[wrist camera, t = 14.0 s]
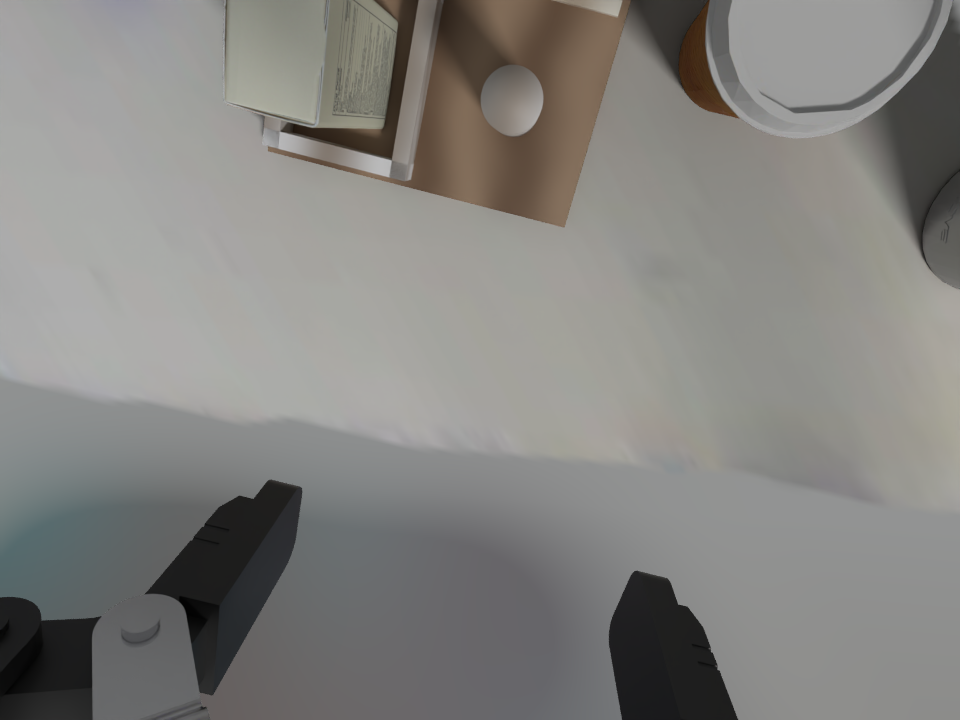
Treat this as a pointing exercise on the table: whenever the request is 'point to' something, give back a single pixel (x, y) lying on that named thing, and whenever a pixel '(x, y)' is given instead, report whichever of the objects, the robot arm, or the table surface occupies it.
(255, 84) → the skincare box
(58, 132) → the table surface
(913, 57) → the disposable coffee cup
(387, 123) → the pin board
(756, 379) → the table surface
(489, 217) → the table surface
